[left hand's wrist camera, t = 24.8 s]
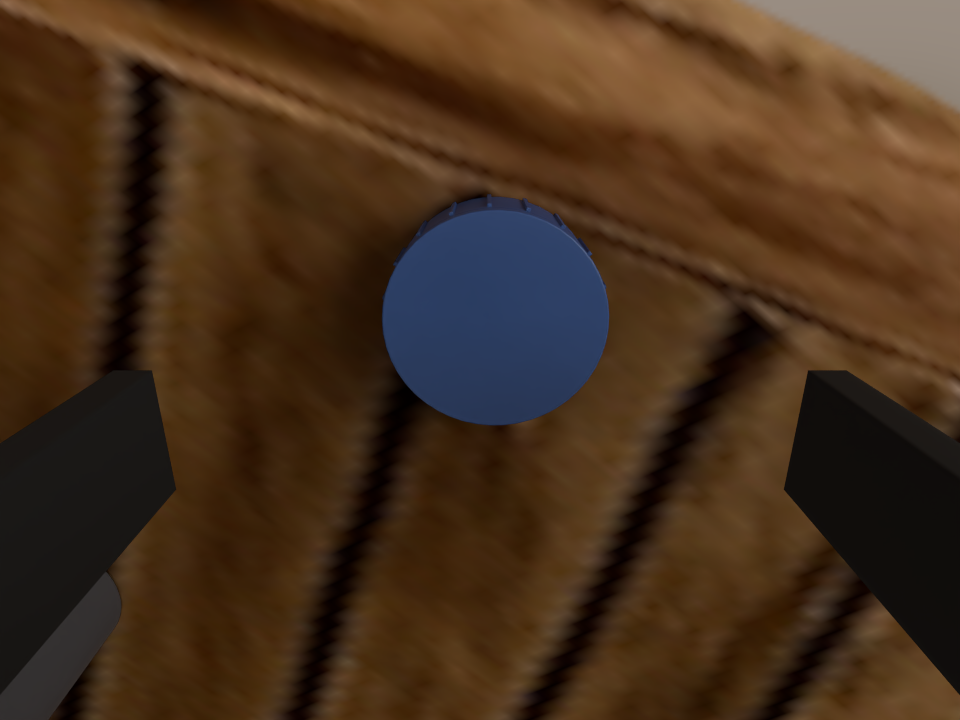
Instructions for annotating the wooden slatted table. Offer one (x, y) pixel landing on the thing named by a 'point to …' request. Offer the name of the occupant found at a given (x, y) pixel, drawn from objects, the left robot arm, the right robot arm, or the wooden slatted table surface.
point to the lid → (495, 312)
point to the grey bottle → (63, 656)
